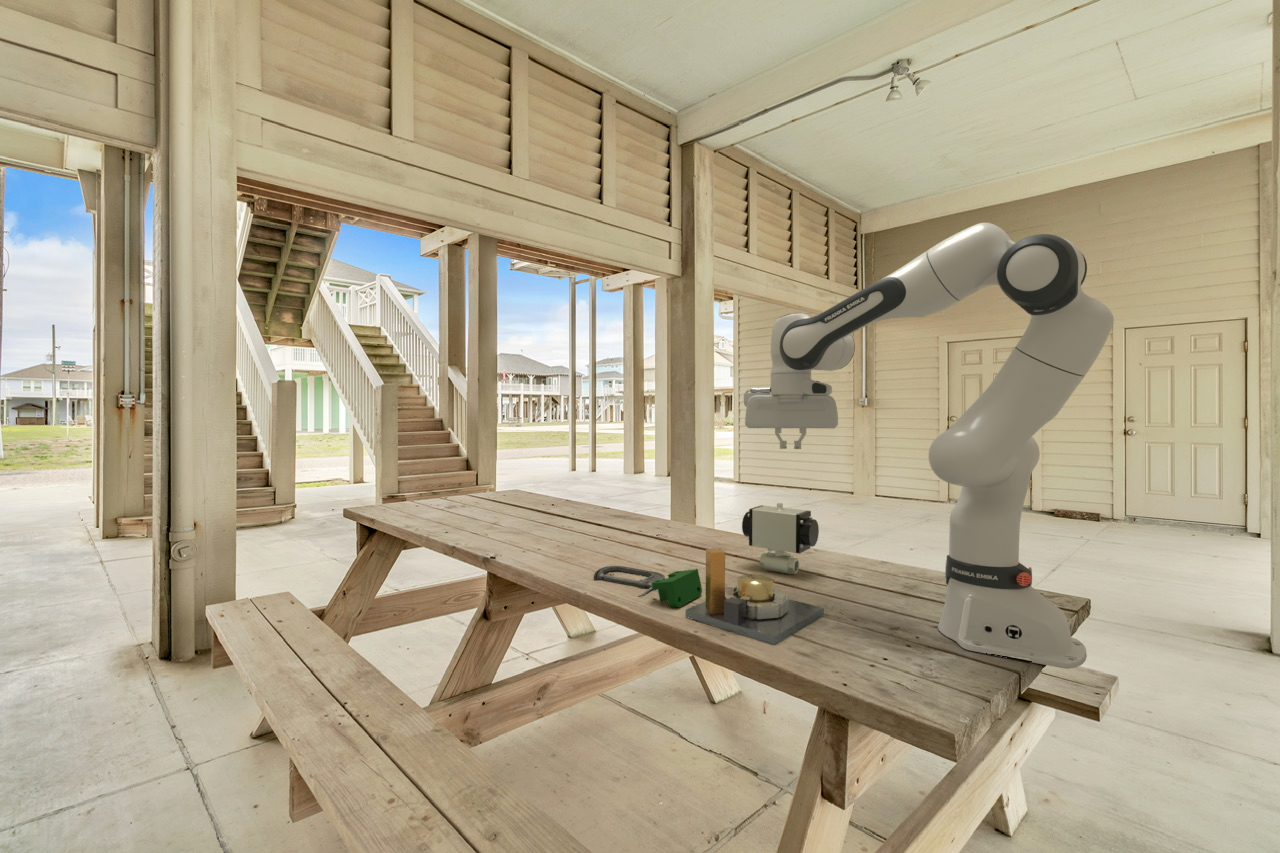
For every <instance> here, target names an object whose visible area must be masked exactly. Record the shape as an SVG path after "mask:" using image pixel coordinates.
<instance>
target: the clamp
mask: <svg viewBox="0 0 1280 853" xmlns="http://www.w3.org/2000/svg"><path fill="white" fill-rule="evenodd" d="M667 577H668V578H665V579H661V580H656V581H654V582H652V588H653V590H652V591H657V593H658V598H659V600H660V602H667V603H668V604H667V605H668V606H669V607H670V608H679V607H682V606H684V605H686V604H688V603H689V602H691V601H693V600H694V599H697V598H699V597H701V596H702V593H703V588H702V587H703V586H702V583H701V577H700V575H699V569H698V568H695V569H694V568H693V569H685V570H677V571H673V572H671V573H669V574H667Z"/></svg>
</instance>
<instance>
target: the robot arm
mask: <svg viewBox="0 0 1280 853" xmlns="http://www.w3.org/2000/svg"><path fill="white" fill-rule="evenodd" d="M1087 265H1088V264H1087V260H1086V257H1085V256H1084V254H1083V252H1082V251H1081V249H1080V248H1079V246H1077V245H1076V244H1075V243H1074V242H1072V241H1071V240H1069V239H1067V238H1064V237H1061V236H1058V235H1054V234H1050V233H1049V234H1048V233H1040V234H1039V233H1038V234H1033V235H1028V236H1026V237H1024V238H1022V239H1020V240H1018V241H1017V242H1015V241H1014V240H1012V239H1011V238H1010V236H1009V235H1008V233H1006V232H1005V230H1004V229H1002V228H1001V227H1000V226H998V225H996V224H993V223H991V222H979V223H976V224H974V225H972V226H969V227H967V228H965V229H962V230H961V231H959V232H956V233H955V234H953V235H951V236H949V237H948V238H945V239H944V240H942V241H940V242H939V243H937V244H935V245H934V246H932V247H930V248H928V250H926V251H925V252H923V253H921V254H920V255H918V256H917V257H915V258H913V259H912V260H910V261H909V262H908V263H906V264H904V265H903V266H902V267H899V268H898V269H897V270H895V271H893V272H891V273H890V274H888V275H886V276H885V277H883V278H881V279H880V280H878V281H876V282H874V283H873V284H870V285H869V286H867V287H865V288H863V289H861V290H859V291H857V292H856V293H854V294H853V295H851V296H849V297H847V298H845V299H844V300H841V301H840V302H838V303H837V304H835V305H833V306H831V307H830V308H828V309H826V310H824V311H823V312H821V313H819V314H817V315H814V316H812V317H811V316H810V315H808V314H807V313H804V312H794V313H788V314H784V315H782V316H779V317H778V318H777V319H776V320H775V321H774V323H773V326H772V329H771V338H770V358H771V361H772V366H771V371H770V387H758V388H757V387H751V388H750V389H748V390H746V391H745V392H744V394H743V403H744V407H746V408H745V418H744V424H745V425H744V426H746V428H748V429H774V433H775V436H776V438H777V439H778V441H779V449H780V450H784V449H785V450H786V449H787V444H788V443H787V440H783V438H782V437H781V435H780V434H782V429H799V430H798V431H799V434H801V435H800V436H799V438H798V440H793V442H794V443H793V444H794V445H793V448H794V450H801V449H802V441H803V440H804V438H805V436H806V435H807V429H836V428H837V427H838V425H839V415H838V406H837V403H836V402H837V401H836V400H835V398H834V397H833V396H831V394H832V392H833V387H832V385H831V384H829V383H824V382H821V381H819V380H814V379H812V372H813V371H825V372H827V371H828V372H832V371H838V370H841V369H844V368H845V367H846V366H847V365H849V363H850V362H851V361H852V359H853V358H854V355H855V352H856V350H855V349H856V348H855V347H856V346H855V339H854V336H852V334H854V333H857V332H858V331H860V330H861V329H863V328H866V327H867V326H869V325H871V324H874V323H877V322H880V321H885V320H890V319H901V318H902V319H903V318H904V319H905V318H906V319H907V318H925V317H928V316H931V315H934V314H936V313H939V312H941V311H943V310H946V309H947V308H950V307H952V306H954V305H956V304H957V303H959V302H960V301H962V300H964V299H966V298H968V297H969V296H970V295H972V294H974V293H976V292H978V291H980V290H981V289H985V288H986V287H990V286H999V288H1000V290H1001V291H1002V292H1003V293H1004V295H1005V296H1006V297H1007V298H1009V299H1010V300H1011V301H1012V302H1013V303H1015V305H1017V306H1019V307H1020V308H1021V309H1022V310H1023V311H1025V312H1026V313H1027V314H1029V315H1030V319H1029V320H1030V321H1029V324H1028V325H1027V327H1026V330H1025V331H1024V333H1023V335H1022V336H1021V337H1020V339H1019V340H1018V342H1017V344H1016V345H1015V347H1014V348H1013V349H1012V351H1011V353H1010V354H1009V356H1008V357H1007V359H1006V361H1005V362H1004V363H1003V365H1002V366H1001V368H1000V370H999V371H998V373H997V374H996V376H995V377H994V378H993V380H992V382H991V383H990V384H989V386H987V388H986V389H985V391H983V393H982V394H980V396H979V397H978V398H977V399H976V400H975V401H974V402H973V403H972V404H971V406H970V407H968V409H967V410H966V411H965V412H964V413H963V414H962V415H961V416H960V417H959V418H958V419H957V420H956V422H954V423H953V424H952V426H950V427H949V428H948V429H946V430H945V431H944V432H942V433H941V434H939V435H937V436H936V438H935V439H934V440H933V441H932V443H931V445H930V447H929V450H928V462H929V465H930V468H931V470H932V471H933V473H934V474H935V475H936V477H938V478H939V479H940V480H941V481H943V482H946V483H948V484H951V485H955V486H958V487H961V490H960V495H959V497H958V499H957V502H956V504H955V506H954V507H953V509H952V511H951V512H950V515H949V539H948V540H949V541H948V542H949V544H948V545H949V547H948V549H949V550H948V551H949V552H948V553H949V554H947V555H946V561H945V566H944V568H945V569H944V570H945V571H944V574H945V583H946V584H945V585H947V586H946V593H945V601H944V605H943V610H942V612H941V617H940V619H939V623H938V624H937V629H938V630H939V632H940V633H941V634H943V635H944V636H945V637H946V638H949V639H951V640H952V641H955V642H956V643H957V644H958V645H959V646H960V647H961V648H962V649H965V650H967V651H972V652H976V653H977V652H978V653H981V654H986V653H987V654H986V655H991V654H997V655H1005V656H1014V657H1022V658H1029V659H1030V660H1032V662H1031V663H1034V664H1040V665H1045V666H1049V667H1055V668H1060V669H1065V670H1067V669H1075V668H1078V667H1080V666H1082V665H1083V664H1084V663H1085V662H1086V660H1087V656H1088V655H1087V647H1086V646H1085V645H1084V643H1083V642H1081V641H1080V640H1079V639H1077V638H1074V637H1072V635H1071V629H1070V624H1069V622H1068V618H1067V616H1066V614H1065V612H1064V611H1063V610H1062V609H1060V607H1058V606H1057V605H1055V604H1054V603H1053V602H1051V601H1050V600H1049V599H1048V598H1046V596H1044V595H1043V594H1041V593H1040V592H1039V591H1037V589H1035V588H1034V587H1032V584H1033V570H1032V567H1031V566H1029V567H1027V566H1025V565H1024V564H1022V563H1020V559H1019V556H1020V553H1019V552H1020V534H1021V533H1020V529H1021V518H1022V514H1023V508H1024V504H1025V500H1026V496H1027V492H1028V489H1029V484H1030V479H1031V477H1032V474H1033V471H1034V470H1035V468H1036V466H1037V465H1038V463H1039V460H1040V453H1041V452H1040V447H1039V445H1038V442H1037V441H1036V439H1035V438H1034V437H1033V436H1034V435H1036V433H1037V432H1038V431H1039V430H1040V429H1041V428H1043V427H1044V426H1045V425H1046V424H1048V423H1049V422H1050V421H1052V420H1053V419H1054V418H1056V416H1057V415H1058V414H1059V412H1060V411H1061V410H1062V408H1064V405H1065V404H1066V403H1067V401H1068V400H1069V399H1070V397H1071V396H1072V395H1073V393H1074V391H1075V390H1076V389H1077V388H1078V386H1079V385H1080V384H1081V382H1082V381H1083V379H1084V377H1086V375H1087V373H1088V372H1089V371H1090V370H1091V368H1092V366H1093V365H1094V363H1095V361H1096V360H1097V359H1098V357H1099V356H1100V353H1101V351H1102V350H1103V348H1104V346H1105V344H1106V342H1107V340H1108V338H1109V335H1110V333H1111V331H1112V329H1113V327H1114V326H1113V325H1114V319H1115V318H1114V316H1113V313H1112V311H1111V310H1110V308H1109V307H1107V305H1105V304H1104V303H1103V302H1101V301H1099V300H1098V299H1096V298H1094V297H1091V296H1089V295H1087V294H1086V293H1085V292H1083V290H1082V285H1083V283H1084V281H1085V279H1086V277H1087V273H1088V272H1087V271H1088V266H1087ZM997 655H996V656H997Z"/></svg>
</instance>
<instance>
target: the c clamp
mask: <svg viewBox="0 0 1280 853" xmlns="http://www.w3.org/2000/svg"><path fill="white" fill-rule="evenodd" d="M609 572H610V573H622V572H623V573H624V574H628V573H629V575H634V574H635V575H636V576H640V575H641V576H640V577H645V578H644V579H639V580H636V579H631V578H626V577H620V576H615V575H608V574H609ZM593 579H594V581H607V582H611V583H616V582H617V583H618V584H622V585H623V584H624V585H627V584H628V585H627V586H633V587H637V588H638V587H639V588H638V589H643V588H644V589H645V591H643V592H642V593H640V594H639V595H638V596H637V597H641V596H643V597H644V596H646V595H647V594H648V592H649V593H650V592H651V591H654V590H653V588H652V582H654V581H656V580H661V579H666V577H665V575H664V574H663V573H660V572H658V571H657V572H656V571H652V570H645V569H642V568H641V569H640V568H634V567H629V566H624V565H609V566H608V565H607V566H604V567H601V568H599V569H597V570H596V571H595V572H594V574H593ZM648 588H649V589H648ZM646 589H647V590H646ZM645 594H646V595H645ZM641 598H642V597H641Z"/></svg>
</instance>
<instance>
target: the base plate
mask: <svg viewBox="0 0 1280 853" xmlns="http://www.w3.org/2000/svg"><path fill="white" fill-rule="evenodd" d="M737 587H738V598H735V597H731V598H729V599H727V600H725V601H724V613H712V614H710V613H709V612H708V610H707V609H706V600H705V601H703V602H702V603H701V602H700V603H698V604H696V605H694V606H692V607H689V608H687V609H685V612H684V613H685V614H684V615H685V616H686V617H689V618H688V619H690V618H692V619H691V620H693V619H695V620H694V621H696V620H698V621H697V622H699V621H701V622H700V623H702V622H704V623H703V624H705V623H707V624H706V625H709V624H710V626H712V625H713V627H715V628H719V629H720V630H721V629H722V630H725V631H729V632H731V633H735V634H737V635H741V636H743V637H747V638H751V639H753V640H757V641H759V642H763V643H767V644H769V645H773V646H776V645H778V643H780V642H782V641H783V640H786V639H787V638H789V637H790V636H792V635H794V634H795V633H797V632H798V631H800V630H802V629H804V628H805V627H807V626H809V625H810V624H812V623H813V622H815V621H817V620H818V619H820V618H822V617H823V616H825V607H822V606H817V605H814V604H811V603H806V602H801V601H798V600H794V599H790V598H789V610H788V611H787V612H786V613H785V614H784V615H783V616H782V617H780V616H779V618H767V619H757V618H754V619H751V618H747V617H746V600H744V599H739V598H741V597H742V596H746V597H751V602H752V603H765V602H773V589H774V580H773V578H771V576H770V577H769V576H766V575H763V574H753V573H751V574H744V575H743V574H742V575H740V576H738V577H737ZM686 617H685V618H686Z"/></svg>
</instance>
